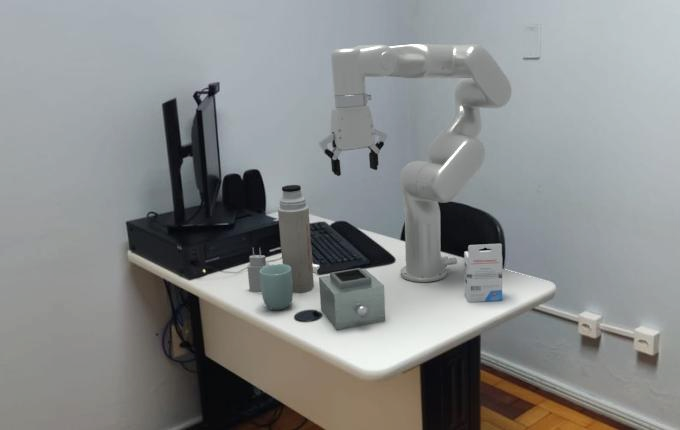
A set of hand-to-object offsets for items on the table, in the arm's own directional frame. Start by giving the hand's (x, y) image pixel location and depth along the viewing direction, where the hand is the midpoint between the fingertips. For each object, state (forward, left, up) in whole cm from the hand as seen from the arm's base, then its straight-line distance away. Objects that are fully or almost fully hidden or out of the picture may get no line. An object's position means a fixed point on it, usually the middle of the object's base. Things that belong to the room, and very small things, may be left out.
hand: (355, 171), depth 152 cm
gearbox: (+7, +12, -32) cm, 35 cm away
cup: (+22, -1, -32) cm, 39 cm away
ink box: (-26, +16, -32) cm, 45 cm away
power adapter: (+24, -14, -32) cm, 43 cm away
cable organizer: (+10, -23, -32) cm, 41 cm away
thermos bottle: (+14, -11, -32) cm, 37 cm away
